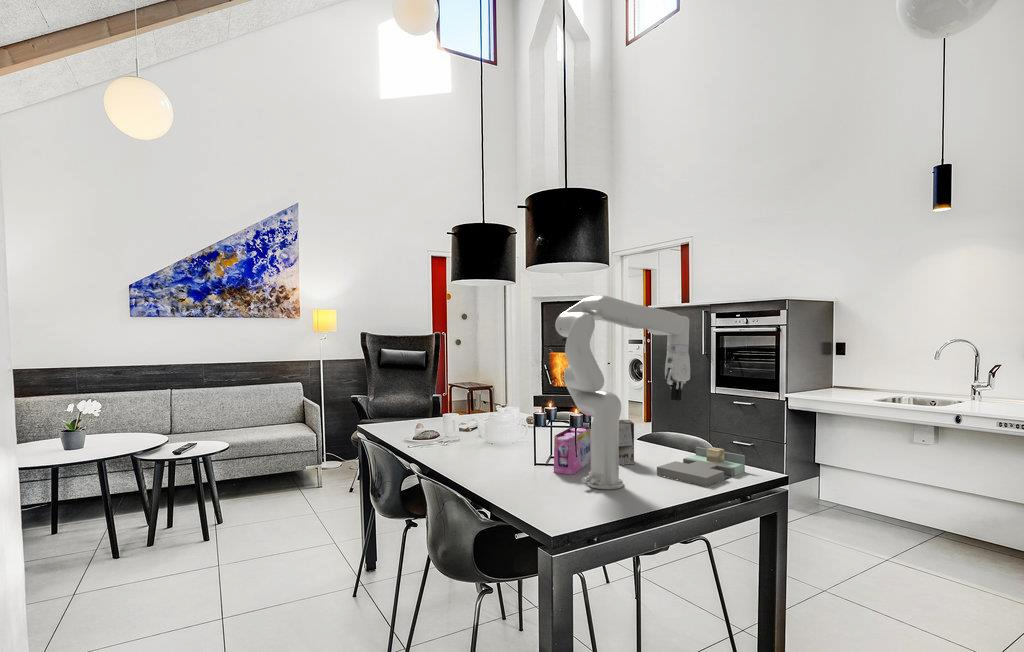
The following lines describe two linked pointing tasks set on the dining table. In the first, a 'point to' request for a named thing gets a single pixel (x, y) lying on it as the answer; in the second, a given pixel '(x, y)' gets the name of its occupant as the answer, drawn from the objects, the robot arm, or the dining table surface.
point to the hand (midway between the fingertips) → (676, 399)
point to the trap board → (703, 468)
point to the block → (715, 455)
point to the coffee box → (626, 442)
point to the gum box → (571, 450)
